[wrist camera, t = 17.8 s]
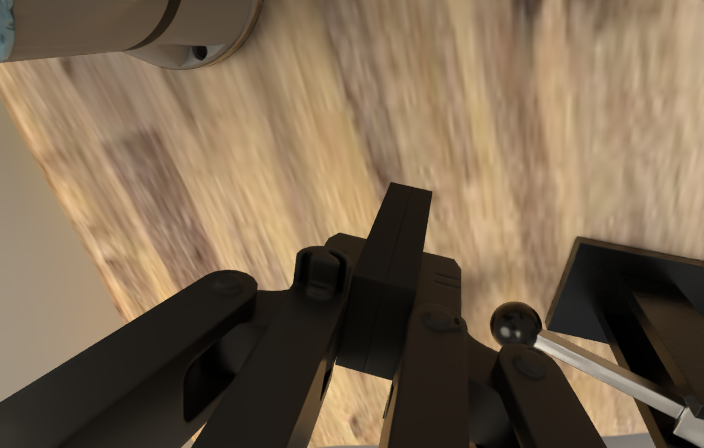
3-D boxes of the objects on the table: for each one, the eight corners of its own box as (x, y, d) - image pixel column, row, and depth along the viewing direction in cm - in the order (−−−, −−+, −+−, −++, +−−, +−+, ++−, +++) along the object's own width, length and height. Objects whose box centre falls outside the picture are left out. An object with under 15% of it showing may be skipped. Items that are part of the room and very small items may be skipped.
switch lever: (496, 324, 37) (476, 344, 34) (508, 286, 35) (488, 304, 32) (724, 440, 29) (722, 478, 26) (753, 397, 27) (753, 433, 24)
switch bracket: (544, 322, 42) (585, 472, 28) (576, 236, 39) (642, 359, 25) (683, 353, 41) (801, 529, 27) (731, 266, 37) (898, 418, 23)
